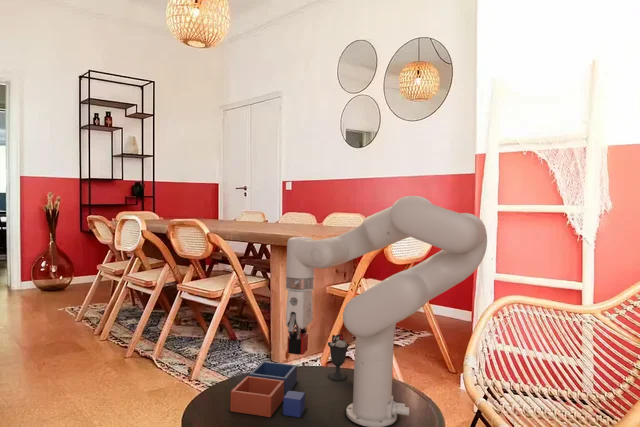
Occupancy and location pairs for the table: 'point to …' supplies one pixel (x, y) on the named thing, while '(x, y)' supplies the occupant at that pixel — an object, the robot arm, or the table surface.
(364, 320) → the robot arm
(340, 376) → the sundae
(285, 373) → the blue bin
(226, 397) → the table surface
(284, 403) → the blue block
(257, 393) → the terracotta bin
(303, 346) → the red block
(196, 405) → the table surface
